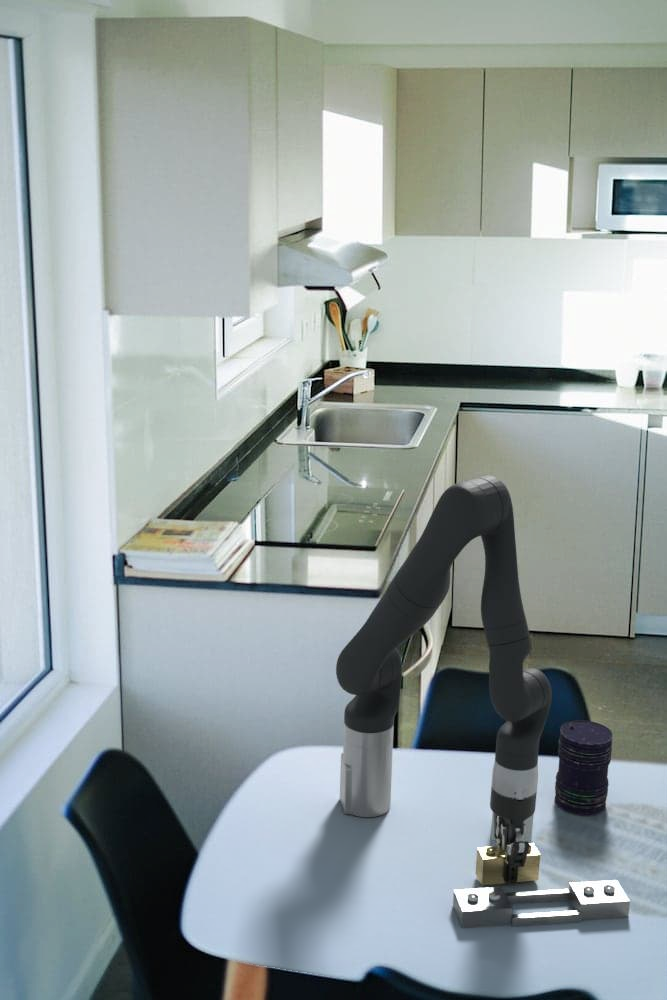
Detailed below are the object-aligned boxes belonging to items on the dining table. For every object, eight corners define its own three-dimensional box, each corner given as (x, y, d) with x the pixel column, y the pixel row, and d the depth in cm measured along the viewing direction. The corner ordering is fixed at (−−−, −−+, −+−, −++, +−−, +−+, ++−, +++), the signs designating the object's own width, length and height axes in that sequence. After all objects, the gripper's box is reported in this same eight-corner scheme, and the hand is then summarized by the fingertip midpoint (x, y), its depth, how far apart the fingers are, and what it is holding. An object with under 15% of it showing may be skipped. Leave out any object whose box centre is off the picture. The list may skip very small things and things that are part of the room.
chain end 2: (546, 924, 201) (548, 904, 200) (534, 898, 208) (535, 879, 207) (629, 918, 203) (631, 899, 202) (614, 893, 210) (616, 875, 209)
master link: (481, 885, 210) (483, 856, 208) (475, 873, 213) (477, 844, 211) (538, 880, 212) (540, 851, 210) (531, 868, 215) (533, 840, 213)
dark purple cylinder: (614, 799, 240) (621, 729, 235) (595, 822, 232) (602, 749, 227) (565, 784, 245) (571, 715, 240) (545, 806, 237) (551, 734, 232)
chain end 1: (462, 929, 199) (463, 910, 198) (452, 903, 206) (453, 884, 205) (546, 924, 201) (548, 904, 200) (534, 898, 208) (535, 879, 207)
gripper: (481, 764, 213) (475, 852, 218) (503, 808, 200) (496, 900, 205) (524, 763, 215) (516, 850, 220) (548, 805, 201) (540, 898, 206)
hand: (506, 874), depth 212 cm, fingers closed on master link, 3 cm apart
